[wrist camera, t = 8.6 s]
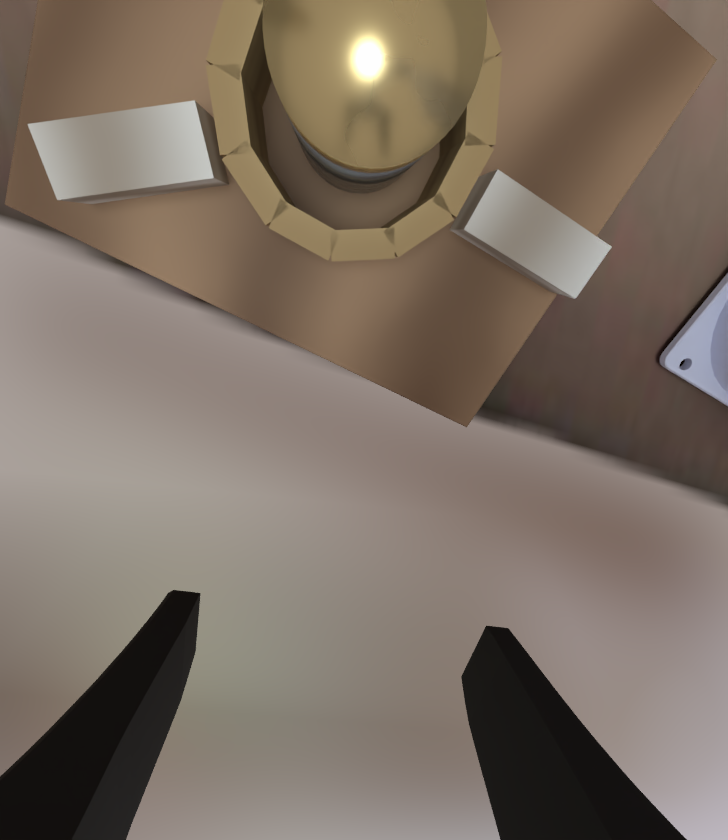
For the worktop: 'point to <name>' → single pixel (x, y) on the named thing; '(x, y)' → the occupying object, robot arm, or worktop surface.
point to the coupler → (372, 80)
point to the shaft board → (339, 210)
